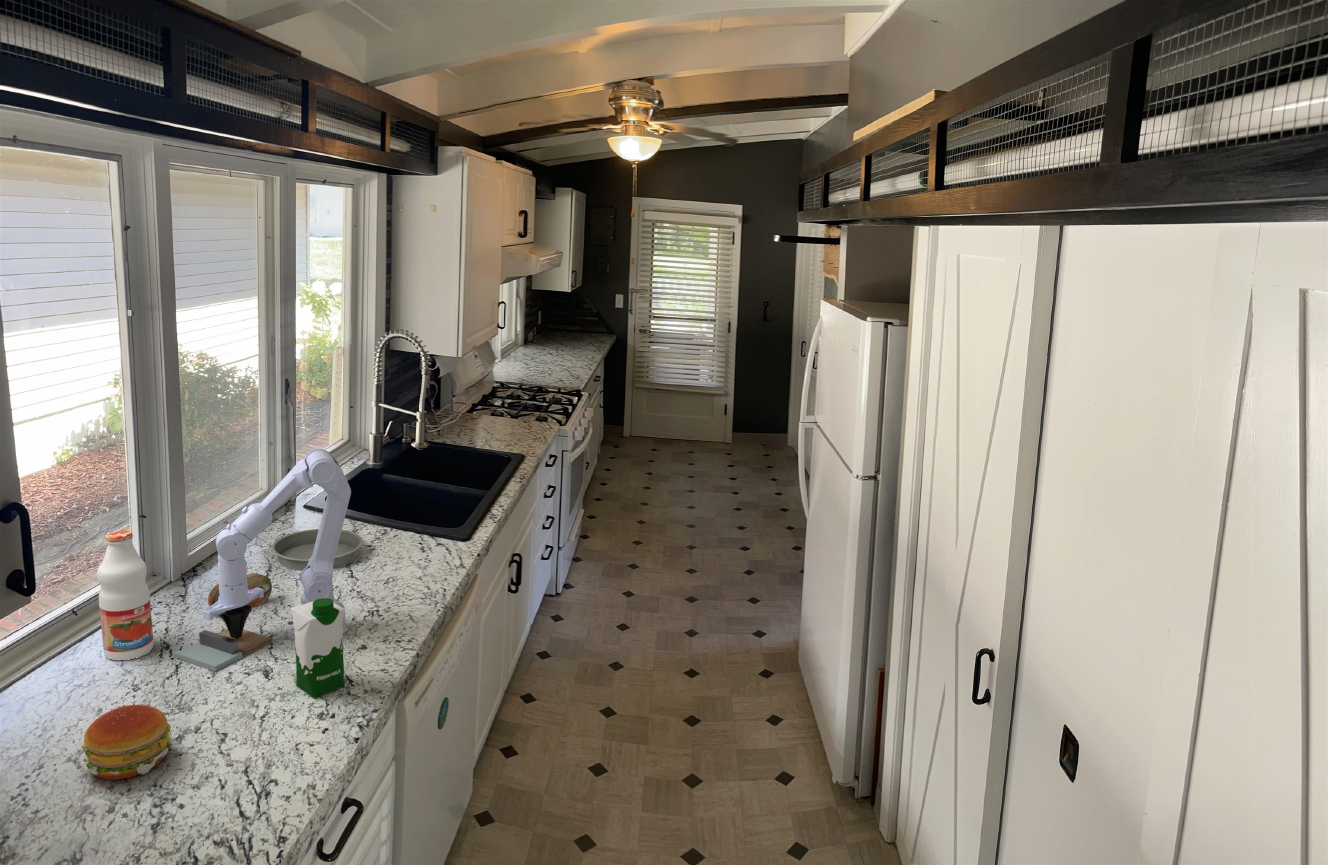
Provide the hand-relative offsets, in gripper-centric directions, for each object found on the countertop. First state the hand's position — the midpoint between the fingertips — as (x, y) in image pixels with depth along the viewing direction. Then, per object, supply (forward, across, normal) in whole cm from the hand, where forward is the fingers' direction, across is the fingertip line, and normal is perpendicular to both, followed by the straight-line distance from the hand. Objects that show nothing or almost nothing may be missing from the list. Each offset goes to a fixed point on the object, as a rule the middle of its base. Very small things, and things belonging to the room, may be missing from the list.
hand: (236, 636), depth 194 cm
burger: (+2, +39, +19) cm, 44 cm away
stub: (+2, +7, 0) cm, 7 cm away
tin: (+2, -14, -14) cm, 20 cm away
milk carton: (+2, +4, +29) cm, 29 cm away
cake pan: (+2, -48, -23) cm, 54 cm away
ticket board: (+2, -1, 0) cm, 2 cm away
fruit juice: (+2, +14, -17) cm, 22 cm away
